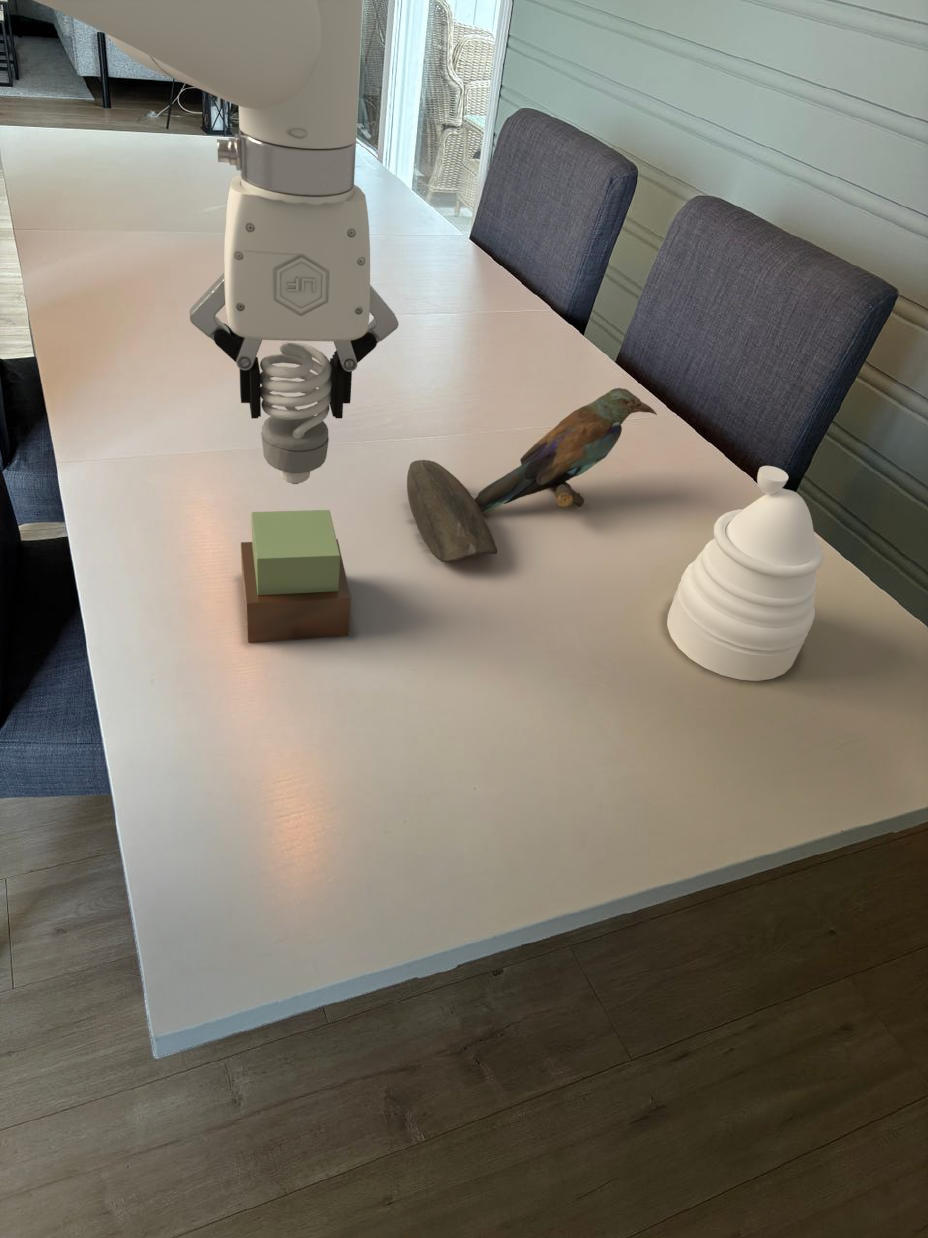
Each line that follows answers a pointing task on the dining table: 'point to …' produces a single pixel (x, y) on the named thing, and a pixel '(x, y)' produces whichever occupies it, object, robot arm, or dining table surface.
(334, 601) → the base block
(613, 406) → the bird figurine
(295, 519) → the top block
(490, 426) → the dining table surface
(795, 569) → the honey pot
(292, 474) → the light bulb
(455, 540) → the decorative stone
